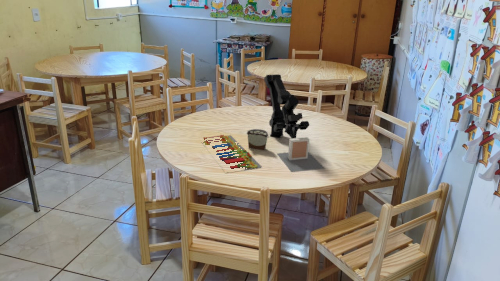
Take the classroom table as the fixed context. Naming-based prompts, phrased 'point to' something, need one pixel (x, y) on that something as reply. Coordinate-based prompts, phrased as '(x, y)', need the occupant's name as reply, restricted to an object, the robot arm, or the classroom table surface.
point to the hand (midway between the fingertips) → (294, 140)
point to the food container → (257, 139)
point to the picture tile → (298, 148)
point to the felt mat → (300, 163)
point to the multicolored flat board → (242, 157)
